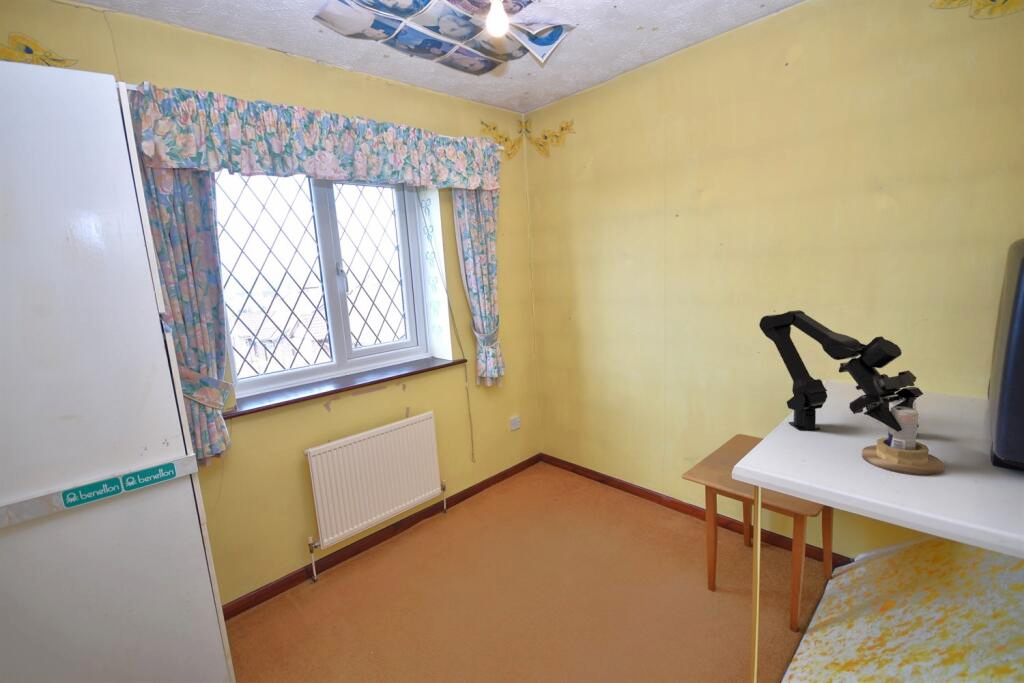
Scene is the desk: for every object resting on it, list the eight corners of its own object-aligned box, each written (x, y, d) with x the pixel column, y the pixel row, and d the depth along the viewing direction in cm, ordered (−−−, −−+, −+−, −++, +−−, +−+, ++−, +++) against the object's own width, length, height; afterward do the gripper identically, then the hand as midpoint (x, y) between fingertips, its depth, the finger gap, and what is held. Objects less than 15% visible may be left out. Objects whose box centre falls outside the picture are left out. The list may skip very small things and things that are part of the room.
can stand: (847, 450, 124) (848, 434, 123) (908, 448, 122) (909, 431, 122) (892, 476, 108) (893, 458, 107) (962, 474, 107) (964, 456, 106)
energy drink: (899, 448, 118) (903, 405, 116) (920, 456, 113) (924, 411, 111) (881, 450, 117) (885, 407, 115) (901, 459, 112) (905, 413, 110)
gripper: (863, 365, 113) (907, 420, 104) (918, 357, 117) (965, 409, 108) (832, 387, 121) (870, 439, 113) (884, 379, 126) (925, 428, 117)
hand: (908, 429), depth 112 cm, fingers closed on energy drink, 5 cm apart
